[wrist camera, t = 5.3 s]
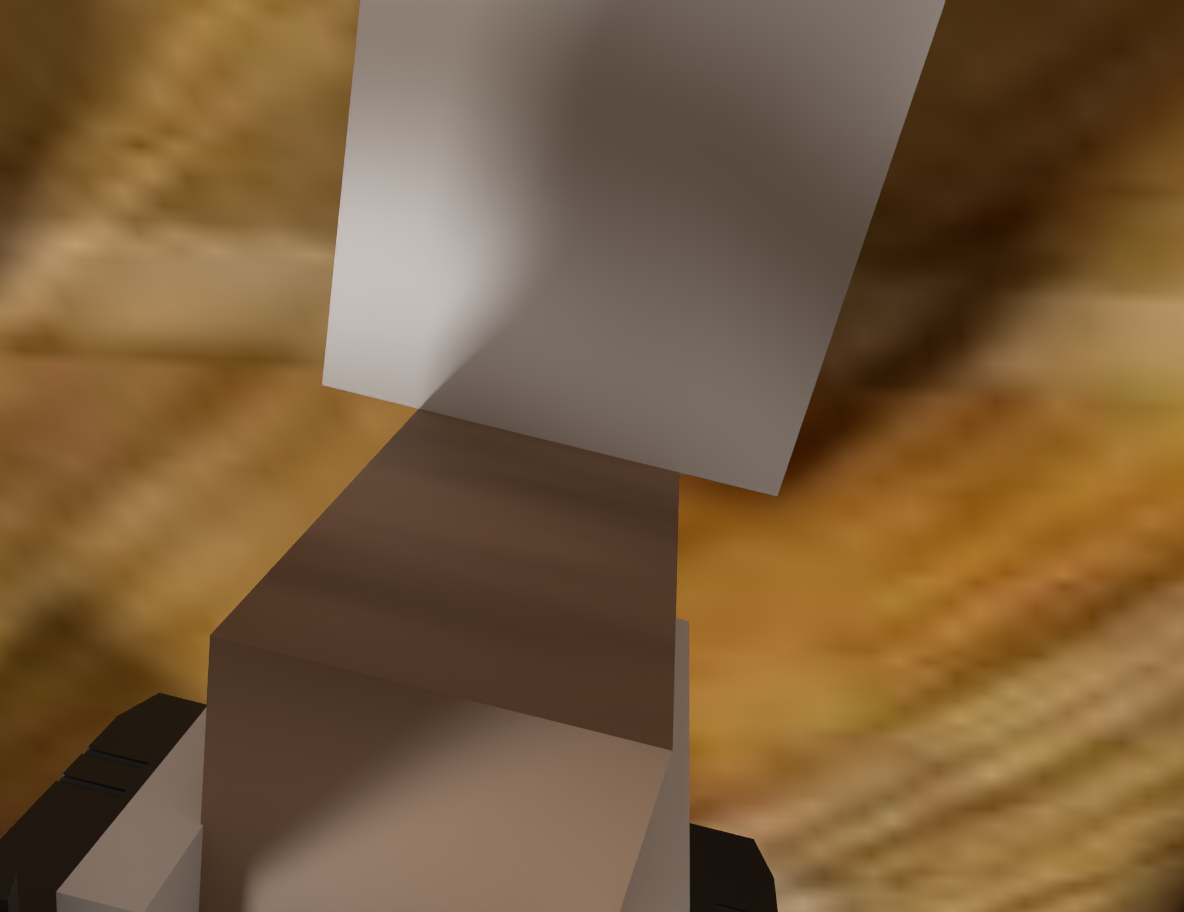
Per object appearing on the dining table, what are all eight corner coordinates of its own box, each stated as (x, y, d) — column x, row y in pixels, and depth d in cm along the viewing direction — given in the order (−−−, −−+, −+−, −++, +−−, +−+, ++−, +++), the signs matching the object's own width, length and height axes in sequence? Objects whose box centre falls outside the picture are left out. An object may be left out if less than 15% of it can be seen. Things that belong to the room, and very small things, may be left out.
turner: (626, 906, 17) (590, 1373, 11) (296, 822, 17) (65, 1237, 11) (962, -109, 10) (1410, -474, 4) (413, -237, 11) (-22, -801, 4)
